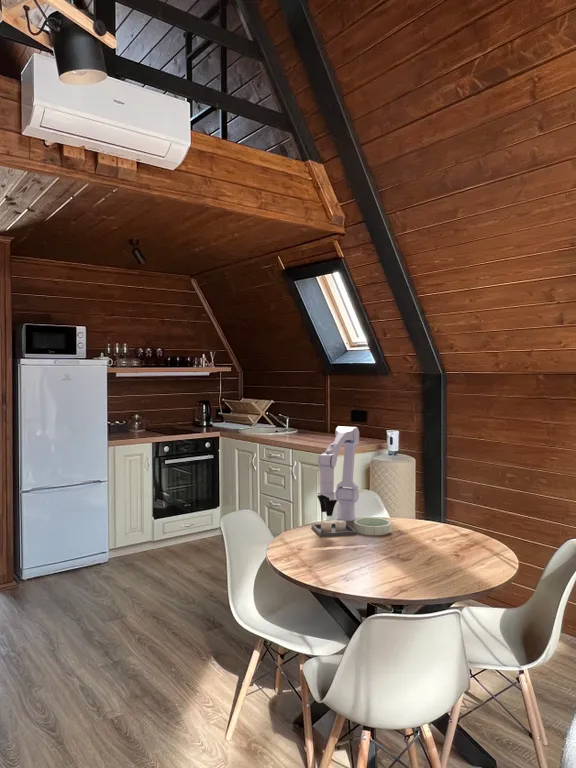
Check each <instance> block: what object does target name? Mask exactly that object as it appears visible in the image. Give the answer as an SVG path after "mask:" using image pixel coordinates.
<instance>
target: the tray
mask: <svg viewBox="0 0 576 768" xmlns="http://www.w3.org/2000/svg"><path fill="white" fill-rule="evenodd" d="M311 529H312V530H313V531H314V532H315V534H316V535H317V536H319V538H329V537H345V536H346V537H347V536H357V532H356V531H355V530H354V527H353V526H350V524H349V523H347V522H346V531H344V532H336V531H335V522H332V532H327V533H322V532H321V523H312V524H311Z"/></svg>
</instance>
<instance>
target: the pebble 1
mask: <svg viewBox="0 0 576 768" xmlns="http://www.w3.org/2000/svg"><path fill="white" fill-rule="evenodd" d="M332 523H333V522H332V521H329V520H321V522H320V524H321V532H322V533H327V532H332Z"/></svg>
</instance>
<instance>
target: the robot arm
mask: <svg viewBox="0 0 576 768" xmlns="http://www.w3.org/2000/svg"><path fill="white" fill-rule="evenodd" d="M334 434H335V437H334V440H333V442H332V443H331V442H330V444H329V445H328V446H327V448H326V449H325V451H324V452H323V453H321V454H319V456H318V459H317V461H318V462H317V463H318V466H319V468H318V470H319V471H320V478H319V479H320V488H319V491H318V492H317V499H318V502H319V505H320V511H321V513H325V514H326V516H327V517H333V513H334V510H335V509H334V508H335V507H337V509H336V510H337V513H336V515H337V516H336V517H335V518H334V519H336V520H344V521H346V522H354V520H355V519H356V518H355V516H356V515H355V514H356V513H355V510H356V505H355V504H356V503H357V502H358V501H359V497H360V496H359V495H360V491H359V485H357V484H356V483H355V482H354V466H355V455H356V454H355V451H356V446H358V445H359V442H360V431H359V428H358V427H357V426H340V425H338V426H337V427H336V428H335V433H334ZM342 446H343V447H344V451H343V464H342V468H343V469H342V477H341V479H342V480H341V481H340V482H339V483H337V485H336V489H335V484H334V483H335V467H336V465H337V461H338V456H339V455H340V454H341V451H342V450H341V447H342ZM334 490H335V491H334ZM336 504H337V506H336Z"/></svg>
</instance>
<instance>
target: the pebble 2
mask: <svg viewBox="0 0 576 768" xmlns="http://www.w3.org/2000/svg"><path fill="white" fill-rule="evenodd" d="M334 523H335V531H336V532H344V531H346V523H347V521H344V520H339V519H336V520H335V522H334Z"/></svg>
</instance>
